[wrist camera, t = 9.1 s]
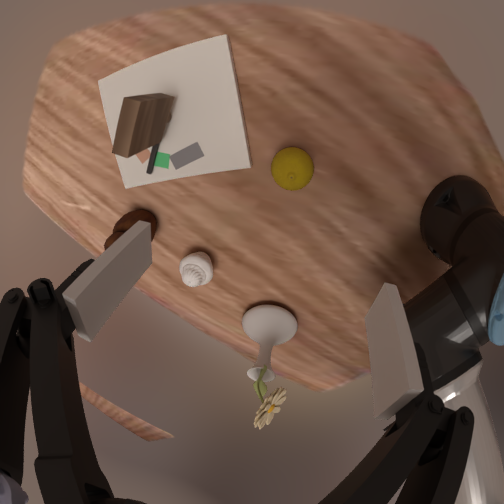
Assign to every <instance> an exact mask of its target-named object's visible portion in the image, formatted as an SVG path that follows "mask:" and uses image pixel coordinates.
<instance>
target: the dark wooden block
mask: <svg viewBox="0 0 504 504" xmlns="http://www.w3.org/2000/svg"><path fill="white" fill-rule="evenodd" d="M174 98H175V97H173V96H170V95H166V94H163V93H153V94H144V95H137V96H129V97H124V99H123V103H122V107H121V111H120V115H119V119H118V124H117V129H116V134H115V139H114V144H113V150H112V153H114V154H117V155H119V156H122V157H125V158H129V157H131V156H133V155H135V154H137V153H139V152H141V151H143V150H145V149H147V148H150V147H152V150H151V154H150V158H149V163H148V167H147V171H146V173H148V174H152V172H153V168H154V163H155V159H156V155H157V152H158V148H159V144H160V142H161V141H162V137H163V134H164V130H165V127H166V124H167V123H168V122H169V121H170V120H171V117H172V115H171V112H170V110H171V107H172V104H173V101H174Z"/></svg>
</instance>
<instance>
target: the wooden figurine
mask: <svg viewBox="0 0 504 504" xmlns="http://www.w3.org/2000/svg"><path fill="white" fill-rule="evenodd" d="M139 220H140V221H144V222H148V223H151V242H152V240H153V238H154V235H155V231H156V224H157V222H156V220H155V218H154V216H153V215H152V214H151V213H149V212H147V211H145V210H136V211H132V212H129V213H127V214H125V215H124V216H123V217H122V218H121V219H120V220H119V221H118V222H117V223H116V224H115V226H114V229H113V234H112V235H111V236H110V237H109V238H108V239H107V240H106V242H105V245H104V248H105V250H106V249H108V248H109V247H110V246H111V245H112V244H113V243H114V242H115V241H116V240H117V239H118V238H120V237H121V236H122V235H123V234H124V233H125V232H126V231H127V230H129V229H130V228H131V227H132V226H133V225H134V224H135V223H137V222H138V221H139Z"/></svg>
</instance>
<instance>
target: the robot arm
mask: <svg viewBox="0 0 504 504" xmlns="http://www.w3.org/2000/svg"><path fill="white" fill-rule="evenodd" d="M420 226H421V233H422V237H423V239H424V241H425V243H426V245H427V246H428V248H429V249H430V251H431V252H432V253H433V254H434V255H435V256H436V257H438V258H439V259H441V260H443V261H444V262H446V263H447V264H449V265H451V266H452V267H451V268H450V269H449V270H448V271H447V272H446V273H444V274H443V275H442V276H441V277H439V278H438V279H437V280H436V281H434V282H433V283H432V284H430V285H429V286H428V287H427V288H425V289H424V290H423V291H421V292H420V293H419V294H417V295H416V296H415V297H413V298H412V299H411V300H409V301H408V302H407V303H405V304H402V301H401V298H400V295H399V292H398V289H397V286H396V285H393V284H389V283H384V285H383V286H382V288H381V290H380V292H379V294H378V295H377V297H376V299H375V301H374V302H373V304H372V306H371V308H370V309H369V311H368V313H367V314H366V316H365V324H366V332H367V339H368V347H369V356H370V366H371V376H372V388H373V402H374V403H373V404H374V419H387V420H388V419H389V418H391V417H392V416H393V415H396V421H394V422H393V423H392V424H390V425H389V426H387V427H386V428H385V429H384V431H385V430H387V429H388V430H387V431H386V432H385V433H384V435H383V436H382V437H381V439H380V440H379V441H378V442H377V443H376V445H375V446H374V447H373V448H372V450H371V451H370V452H369V453H368V454H367V455H366V457H365V458H364V459H363V460H362V461H361V462H360V463H359V464H358V465H357V466H356V467H355V469H354V470H353V471H352V472H351V473H350V474H349V475H348V476H347V477H346V478H345V479H344V480H343V481H342V482H341V483H340V484H339V485H338V486H337V487H336V488H335V489H334V490H333V491H332V492H330V493H329V494H328V495H327V496H326V497H325V498H324V499H323V500H322V501H320V502H319V503H318V504H387V503H388V502H389V501H390V500H391V498H392V497H393V496H394V494H395V493H396V492H397V490H398V489H399V487H400V486H401V485H402V484H403V482H404V481H405V480H406V482H405V484H404V486H403V488H402V490H401V492H400V494H399V497H398V499H397V501H396V503H395V504H504V473H503V467H502V460H501V455H500V450H499V445H498V441H497V436H496V432H495V429H494V425H493V421H492V417H491V414H490V410H489V407H488V404H487V401H486V398H485V395H484V392H483V389H482V386H481V384H480V381H479V372H480V369H481V366H482V363H483V358H482V356H481V354H480V351H479V348H480V347H481V346H482V345H484V344H485V343H487V342H488V341H489V340H490V341H492V342H493V343H494V344H496V345H504V217H503V216H502V215H501V214H500V213H499V212H498V211H497V209H496V207H495V205H494V203H493V201H492V199H491V197H490V195H489V193H488V192H487V190H486V189H485V188H484V187H483V186H482V185H481V184H479V183H478V182H477V181H475V180H474V179H472V178H470V177H467V176H454V177H451V178H448V179H446V180H445V181H443V182H441V183H440V184H439V185H438V186H437V187H436V188H435V189H434V190H433V191H432V192H431V194H430V195H429V197H428V198H427V200H426V202H425V205H424V207H423V210H422V214H421V223H420ZM151 264H152V249H151V223H148V222H144V221H140V220H139V221H138V222H137V223H135V224H134V225H133V226H132V227H131V228H130V229H129V230H127V231H126V232H125V233H124V234H123V235H122V236H121V237H120V238H118V239H117V240H116V241H115V242H114V243H113V244H112V245H111V246H110V247H109V248H108V249H106V250H105V251H104V252H103V253H102V254H101V255H100V256H99V257H98V258H97V259H96V260H94V259H90V260H88V261H86V262H84V263H82V264H81V265H80V266H79V267H78V268H77V269H76V271H74V272H73V273H72V274H71V276H69V277H68V278H67V279H66V280H65V281H64V282H63V283H62V284H61V285H60V286H59V287H58V288H57V289H56V290H54V288H53V285H52V282H51V281H50V280H49V279H46V278H40V279H37V280H35V281H33V282H32V283H31V284H30V285H29V286H28V289H27V292H28V294H29V297H30V298H29V297H25V295H24V292H23V291H22V290H21V289H20V288H13V289H11V290H9V291H8V292H7V293H5V295H4V296H3V299H2V301H1V303H0V504H25V503H27V502H28V500H29V499H28V495H27V494H26V492H25V491H23V490H22V488H21V484H22V477H23V462H24V432H25V419H26V410H27V402H28V395H29V388H30V390H31V404H32V414H33V422H34V429H35V435H36V441H37V446H38V453H39V455H38V457H37V458H36V460H35V463H34V466H35V472H36V476H37V480H38V483H39V487H40V490H41V494H42V497H43V500H44V503H45V504H146V503H143V502H141V501H136V500H132V499H122V498H114V495H113V493H112V490H111V488H110V485H109V483H108V481H107V479H106V477H105V476H104V474H103V473H102V471H101V469H100V467H99V465H98V461H97V458H96V455H95V452H94V448H93V445H92V441H91V438H90V435H89V430H88V426H87V422H86V418H85V413H84V409H83V404H82V398H81V393H80V387H79V381H78V374H77V368H76V359H75V349H74V338H73V334H72V332H73V331H74V330H75V328H76V330H77V333H78V335H79V336H80V337H82V338H83V339H85V340H87V341H89V342H92V340H93V339H94V338H95V336H96V335H97V333H98V332H99V330H100V329H101V328H102V327H103V325H104V324H105V322H106V321H107V320H108V318H109V317H110V316H111V314H112V313H113V312H114V310H115V309H116V307H118V305H119V304H120V303H121V301H122V300H123V299H124V297H125V296H126V295H127V294H128V292H129V291H130V290H131V288H132V287H133V286H134V285H135V283H136V282H137V281H138V280H139V279H140V277H141V276H142V275H143V274H144V272H145V271H146V270H147V269H148V267H149V266H150V265H151ZM17 330H18V331H17ZM16 333H17V334H16ZM406 478H407V479H406Z"/></svg>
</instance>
